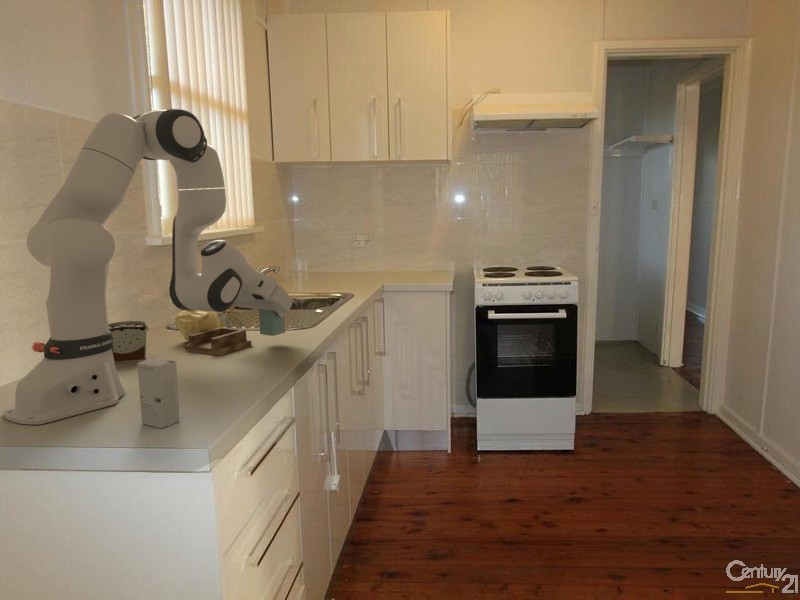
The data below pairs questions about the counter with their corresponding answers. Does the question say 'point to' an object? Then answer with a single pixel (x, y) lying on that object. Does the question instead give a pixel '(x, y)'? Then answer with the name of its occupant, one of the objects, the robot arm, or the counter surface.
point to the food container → (129, 340)
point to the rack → (218, 341)
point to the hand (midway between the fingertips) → (273, 314)
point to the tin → (271, 323)
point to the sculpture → (196, 322)
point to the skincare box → (158, 392)
